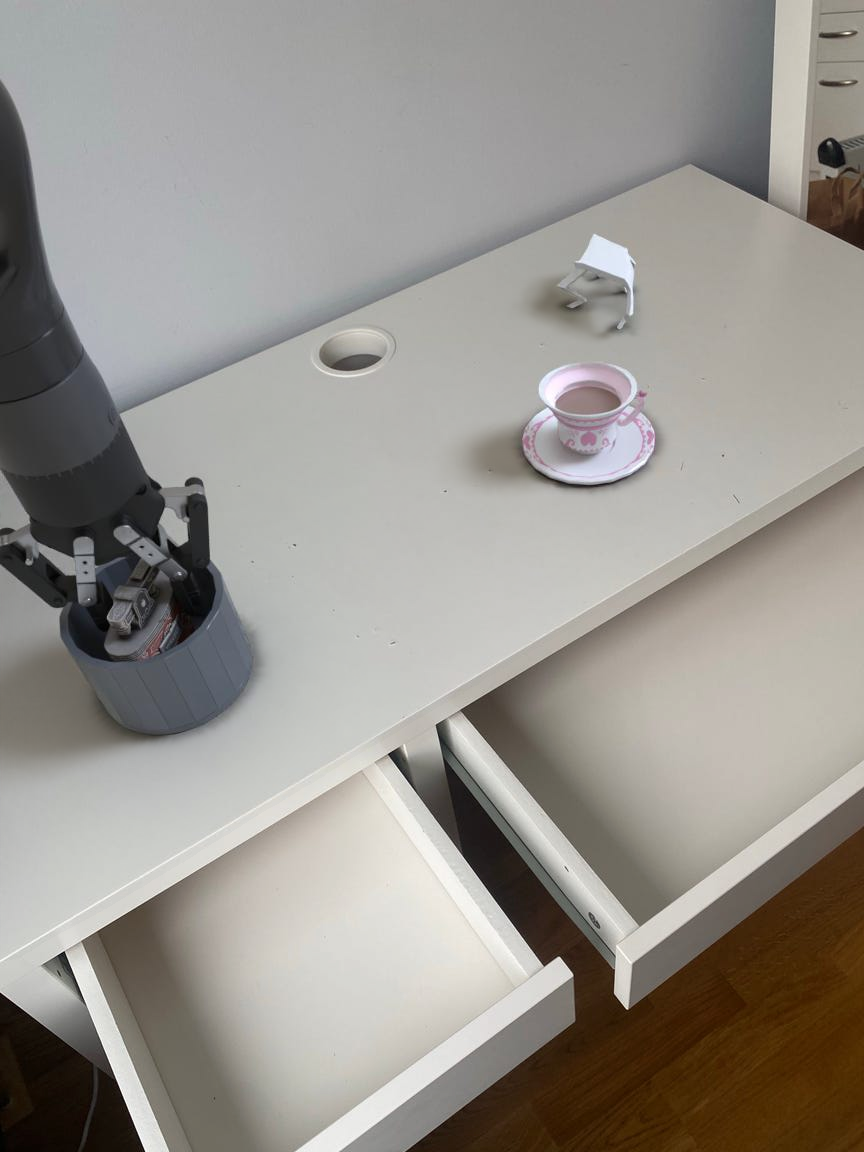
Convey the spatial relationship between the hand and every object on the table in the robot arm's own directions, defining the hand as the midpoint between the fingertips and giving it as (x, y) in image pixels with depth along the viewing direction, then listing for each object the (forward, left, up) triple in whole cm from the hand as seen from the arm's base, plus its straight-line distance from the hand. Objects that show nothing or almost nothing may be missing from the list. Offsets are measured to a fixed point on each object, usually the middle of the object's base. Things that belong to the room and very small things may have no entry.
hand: (153, 616), depth 70 cm
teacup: (+39, +13, -6) cm, 41 cm away
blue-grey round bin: (0, 0, -6) cm, 6 cm away
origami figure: (+49, +33, -6) cm, 59 cm away
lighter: (-1, -1, -6) cm, 6 cm away
